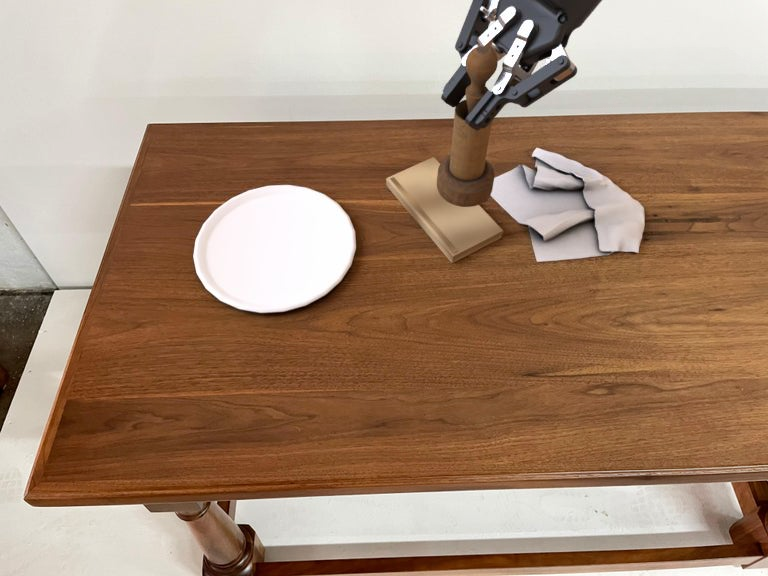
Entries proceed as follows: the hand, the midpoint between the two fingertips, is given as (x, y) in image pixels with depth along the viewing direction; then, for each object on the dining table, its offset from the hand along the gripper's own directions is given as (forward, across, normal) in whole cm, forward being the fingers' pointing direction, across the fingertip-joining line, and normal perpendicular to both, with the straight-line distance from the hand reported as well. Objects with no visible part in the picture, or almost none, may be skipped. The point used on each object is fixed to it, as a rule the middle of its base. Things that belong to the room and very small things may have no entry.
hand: (459, 114), depth 60 cm
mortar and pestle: (+7, 0, +10) cm, 12 cm away
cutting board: (+13, -5, +18) cm, 22 cm away
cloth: (+3, +2, +28) cm, 29 cm away
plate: (+28, -11, +2) cm, 31 cm away
